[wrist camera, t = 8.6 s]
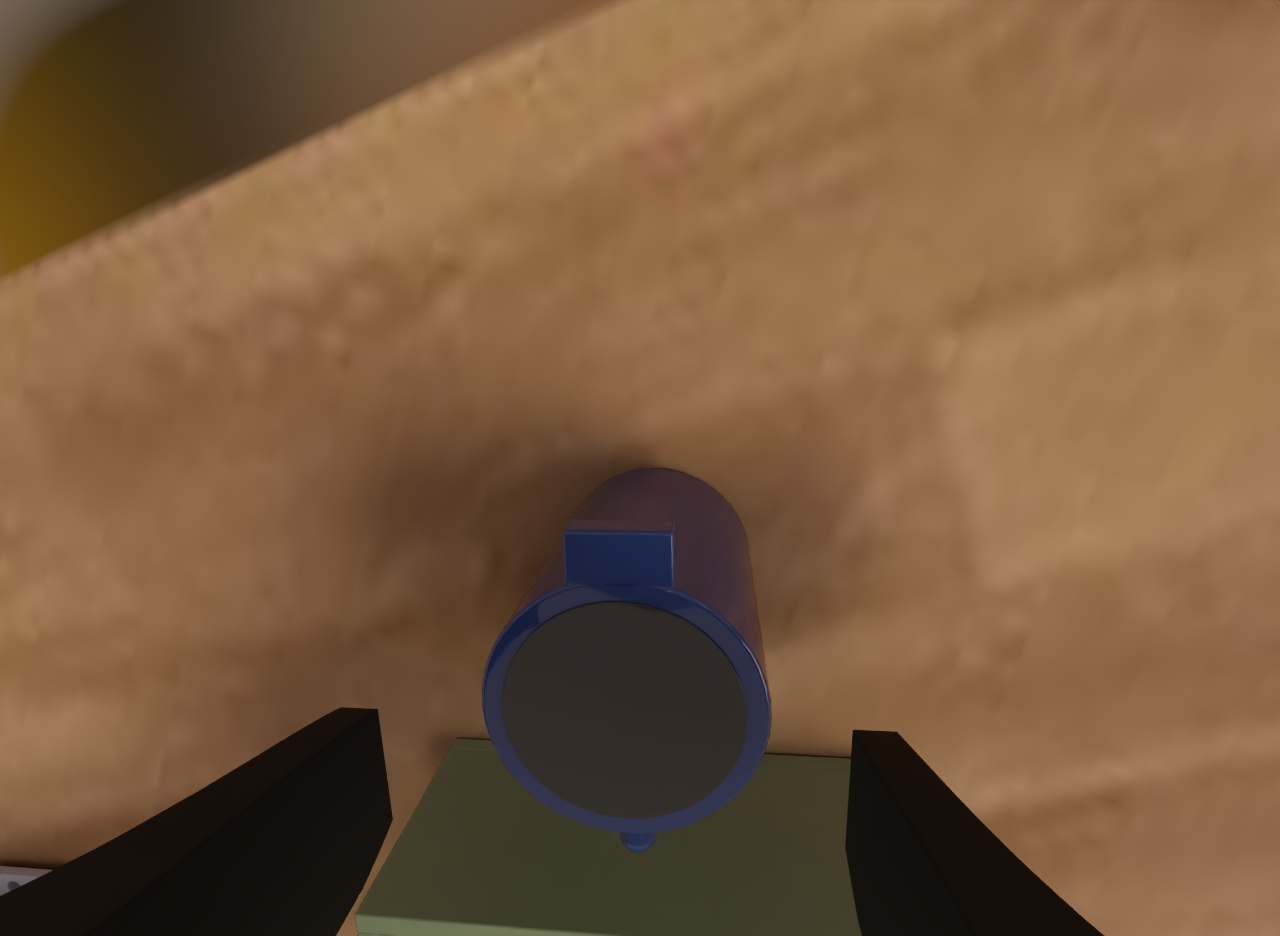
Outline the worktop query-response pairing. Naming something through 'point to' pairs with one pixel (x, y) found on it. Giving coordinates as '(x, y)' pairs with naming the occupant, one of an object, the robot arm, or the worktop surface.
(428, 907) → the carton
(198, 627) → the worktop surface
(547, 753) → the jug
